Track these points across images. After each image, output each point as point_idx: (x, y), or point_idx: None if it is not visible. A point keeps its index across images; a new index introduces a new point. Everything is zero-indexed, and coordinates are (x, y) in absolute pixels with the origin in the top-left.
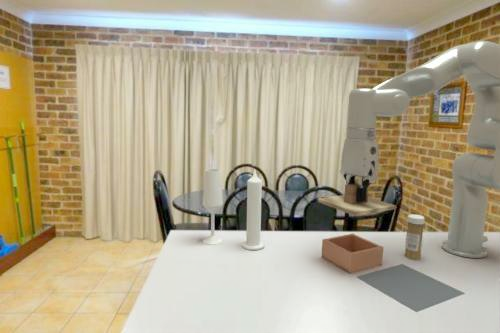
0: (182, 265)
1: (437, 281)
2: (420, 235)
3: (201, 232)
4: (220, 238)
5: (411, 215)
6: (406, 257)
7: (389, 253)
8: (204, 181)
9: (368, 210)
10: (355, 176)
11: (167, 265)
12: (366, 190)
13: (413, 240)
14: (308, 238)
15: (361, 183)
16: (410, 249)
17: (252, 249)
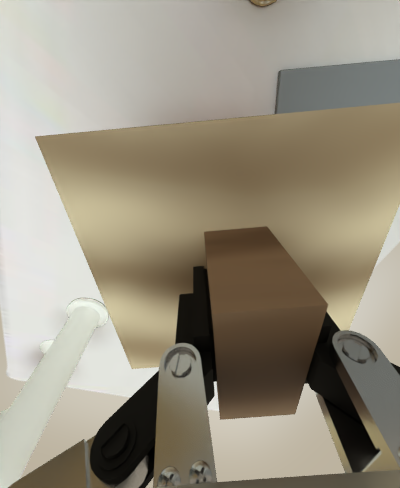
0: (138, 383)
1: (389, 67)
2: None
3: (15, 355)
4: (50, 342)
5: None
6: (261, 2)
7: (201, 24)
8: None
9: (356, 305)
10: (210, 443)
11: (134, 392)
12: (333, 321)
13: None
14: (50, 199)
15: (360, 424)
16: None
17: (107, 319)
